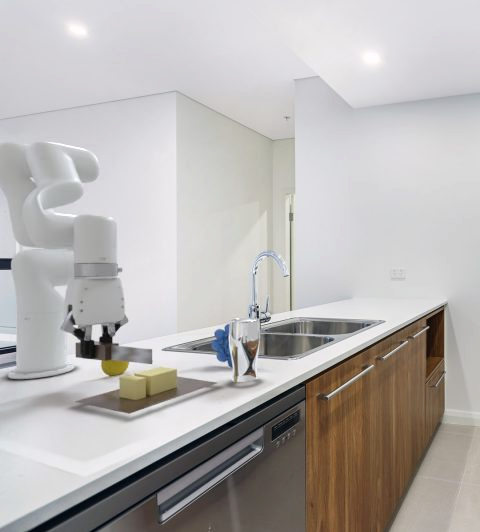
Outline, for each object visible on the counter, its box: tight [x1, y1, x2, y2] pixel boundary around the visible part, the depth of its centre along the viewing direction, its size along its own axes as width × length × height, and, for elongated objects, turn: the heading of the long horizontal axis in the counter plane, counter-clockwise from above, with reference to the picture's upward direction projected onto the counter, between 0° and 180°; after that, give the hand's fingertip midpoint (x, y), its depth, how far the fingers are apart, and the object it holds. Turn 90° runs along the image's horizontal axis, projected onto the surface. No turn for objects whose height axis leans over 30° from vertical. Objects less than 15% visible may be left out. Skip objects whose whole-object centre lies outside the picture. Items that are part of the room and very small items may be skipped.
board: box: [74, 376, 217, 415], centre depth 84 cm, size 16×20×1 cm
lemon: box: [100, 360, 130, 377], centre depth 97 cm, size 6×6×8 cm
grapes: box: [210, 323, 233, 369], centre depth 106 cm, size 12×7×12 cm, turn 108°
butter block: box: [133, 366, 178, 396], centre depth 84 cm, size 5×6×4 cm
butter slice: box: [119, 374, 146, 400], centre depth 80 cm, size 5×2×4 cm, turn 68°
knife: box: [75, 340, 153, 365], centre depth 84 cm, size 22×3×3 cm, turn 68°
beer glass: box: [229, 317, 262, 383], centre depth 93 cm, size 7×7×15 cm
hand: (96, 355), depth 86 cm, fingers closed on knife, 2 cm apart
